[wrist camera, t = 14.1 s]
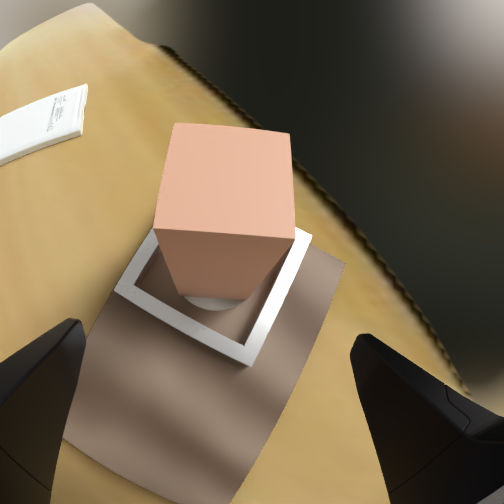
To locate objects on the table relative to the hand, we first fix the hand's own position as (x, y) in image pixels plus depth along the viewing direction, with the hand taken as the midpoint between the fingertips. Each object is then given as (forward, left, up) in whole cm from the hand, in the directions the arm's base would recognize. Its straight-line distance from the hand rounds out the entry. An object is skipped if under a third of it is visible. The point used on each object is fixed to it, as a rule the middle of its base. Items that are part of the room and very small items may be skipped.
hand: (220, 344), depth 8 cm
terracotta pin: (+5, +2, -10) cm, 12 cm away
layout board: (-1, +1, -11) cm, 12 cm away
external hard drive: (+9, +28, -12) cm, 32 cm away
